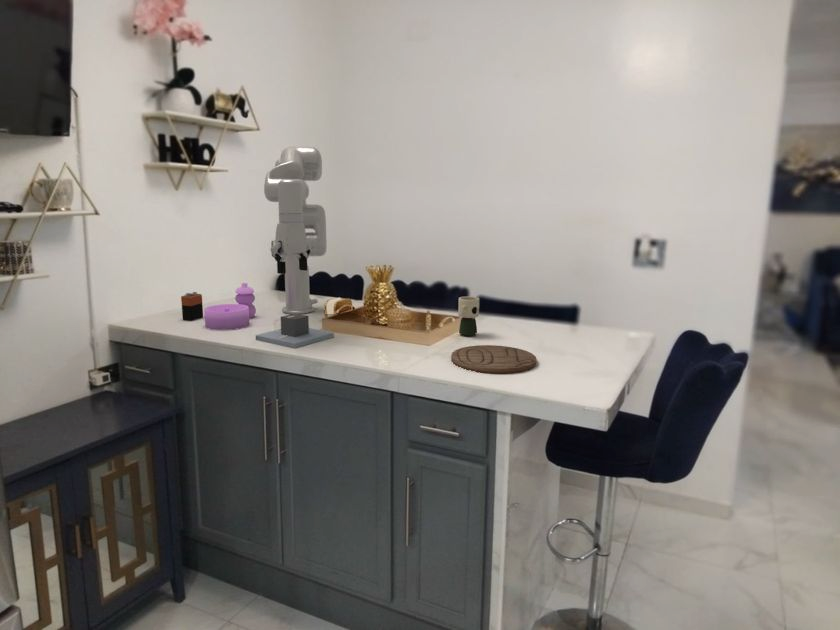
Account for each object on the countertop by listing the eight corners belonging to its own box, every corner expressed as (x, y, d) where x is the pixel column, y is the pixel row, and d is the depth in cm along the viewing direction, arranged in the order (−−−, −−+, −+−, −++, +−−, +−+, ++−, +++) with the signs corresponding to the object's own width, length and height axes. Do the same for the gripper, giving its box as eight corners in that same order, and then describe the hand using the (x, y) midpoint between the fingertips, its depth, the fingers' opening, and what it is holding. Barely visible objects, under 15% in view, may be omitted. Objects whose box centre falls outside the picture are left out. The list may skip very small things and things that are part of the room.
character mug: (471, 339, 204) (472, 301, 201) (452, 337, 207) (453, 299, 204) (483, 333, 213) (484, 296, 210) (464, 330, 216) (465, 294, 213)
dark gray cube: (295, 330, 206) (294, 312, 205) (308, 333, 203) (308, 315, 202) (281, 334, 201) (280, 316, 200) (295, 337, 198) (294, 318, 196)
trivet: (526, 351, 192) (527, 345, 191) (545, 375, 167) (545, 368, 167) (448, 350, 191) (448, 344, 191) (454, 375, 167) (455, 368, 166)
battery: (182, 320, 227) (180, 293, 225) (194, 316, 233) (193, 290, 231) (191, 321, 225) (189, 294, 223) (203, 317, 232) (202, 291, 229)
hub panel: (295, 329, 215) (295, 314, 213) (333, 337, 205) (333, 321, 204) (255, 339, 200) (255, 323, 199) (294, 348, 190) (294, 331, 189)
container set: (236, 331, 211) (234, 294, 208) (196, 328, 214) (194, 291, 212) (268, 316, 235) (267, 283, 232) (232, 314, 238) (231, 281, 235)
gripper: (301, 217, 204) (303, 268, 207) (262, 219, 190) (264, 273, 193) (318, 218, 199) (319, 270, 203) (279, 220, 185) (281, 276, 189)
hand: (292, 271), depth 198 cm, fingers open, 9 cm apart
